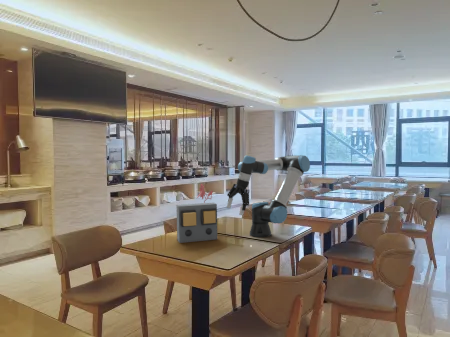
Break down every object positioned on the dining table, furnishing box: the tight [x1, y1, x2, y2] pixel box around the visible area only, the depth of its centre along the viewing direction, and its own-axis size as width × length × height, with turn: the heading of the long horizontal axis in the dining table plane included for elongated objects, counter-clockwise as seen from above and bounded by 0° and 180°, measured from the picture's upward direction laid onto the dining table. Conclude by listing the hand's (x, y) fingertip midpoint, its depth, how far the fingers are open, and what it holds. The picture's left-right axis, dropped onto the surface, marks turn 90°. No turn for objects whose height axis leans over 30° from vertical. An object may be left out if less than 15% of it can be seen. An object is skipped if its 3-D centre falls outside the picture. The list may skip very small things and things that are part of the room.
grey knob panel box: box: [175, 202, 218, 244], centre depth 235 cm, size 10×26×24 cm, turn 108°
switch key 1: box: [183, 212, 196, 226], centre depth 225 cm, size 3×8×8 cm, turn 108°
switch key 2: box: [203, 210, 216, 224], centre depth 232 cm, size 3×8×8 cm, turn 108°
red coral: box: [196, 183, 213, 203], centre depth 276 cm, size 15×26×35 cm, turn 166°
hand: (234, 211), depth 224 cm, fingers open, 13 cm apart
